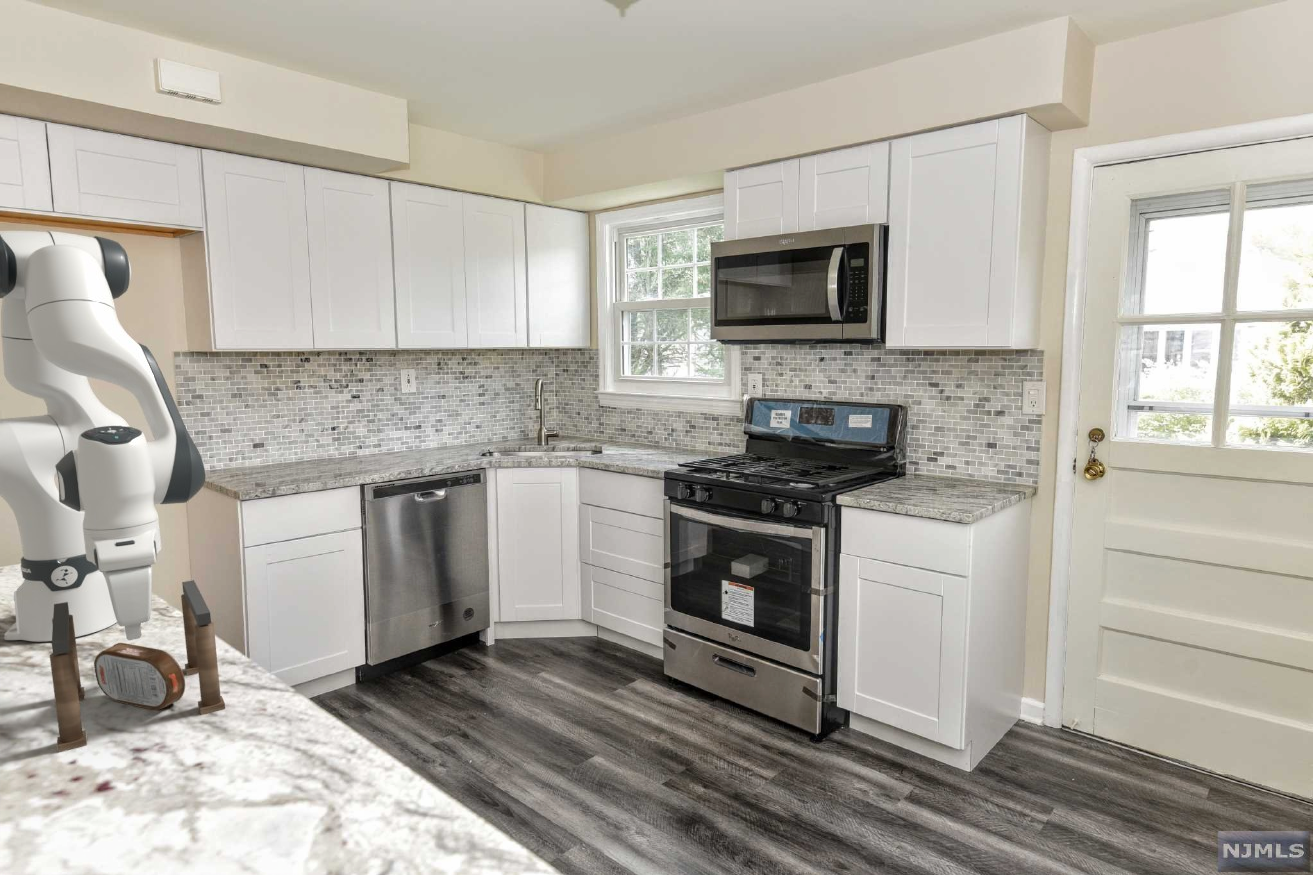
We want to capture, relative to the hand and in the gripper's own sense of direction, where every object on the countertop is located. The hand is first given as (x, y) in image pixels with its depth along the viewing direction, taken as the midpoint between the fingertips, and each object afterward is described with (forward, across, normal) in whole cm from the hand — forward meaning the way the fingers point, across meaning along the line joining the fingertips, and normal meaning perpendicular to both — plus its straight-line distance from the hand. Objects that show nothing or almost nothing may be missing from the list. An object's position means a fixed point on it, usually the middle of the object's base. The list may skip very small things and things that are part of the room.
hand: (133, 636), depth 112 cm
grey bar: (-3, 0, -8) cm, 8 cm away
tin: (+10, 0, 0) cm, 10 cm away
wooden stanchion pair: (+10, 0, 0) cm, 10 cm away
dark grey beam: (-3, 0, +8) cm, 8 cm away
